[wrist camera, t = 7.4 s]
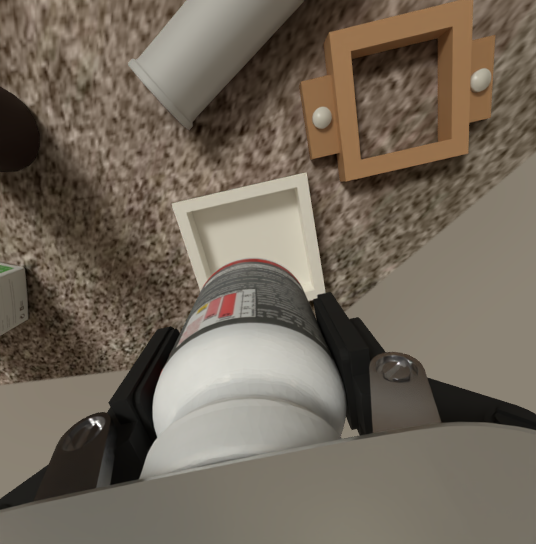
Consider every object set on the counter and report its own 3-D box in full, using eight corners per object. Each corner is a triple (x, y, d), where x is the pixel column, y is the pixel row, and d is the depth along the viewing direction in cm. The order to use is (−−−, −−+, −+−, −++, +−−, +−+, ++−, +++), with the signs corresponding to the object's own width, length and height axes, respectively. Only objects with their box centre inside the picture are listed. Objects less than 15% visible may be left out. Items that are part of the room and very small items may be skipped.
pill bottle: (179, 285, 14) (15, 507, 4) (275, 235, 13) (324, 368, 4) (234, 365, 16) (201, 644, 6) (321, 323, 15) (433, 566, 5)
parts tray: (301, 173, 25) (306, 172, 23) (320, 287, 29) (326, 296, 26) (179, 201, 25) (171, 203, 23) (214, 310, 29) (210, 322, 27)
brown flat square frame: (486, 4, 21) (506, -12, 20) (479, 149, 25) (496, 146, 23) (293, 51, 22) (297, 40, 20) (314, 187, 25) (318, 187, 24)
